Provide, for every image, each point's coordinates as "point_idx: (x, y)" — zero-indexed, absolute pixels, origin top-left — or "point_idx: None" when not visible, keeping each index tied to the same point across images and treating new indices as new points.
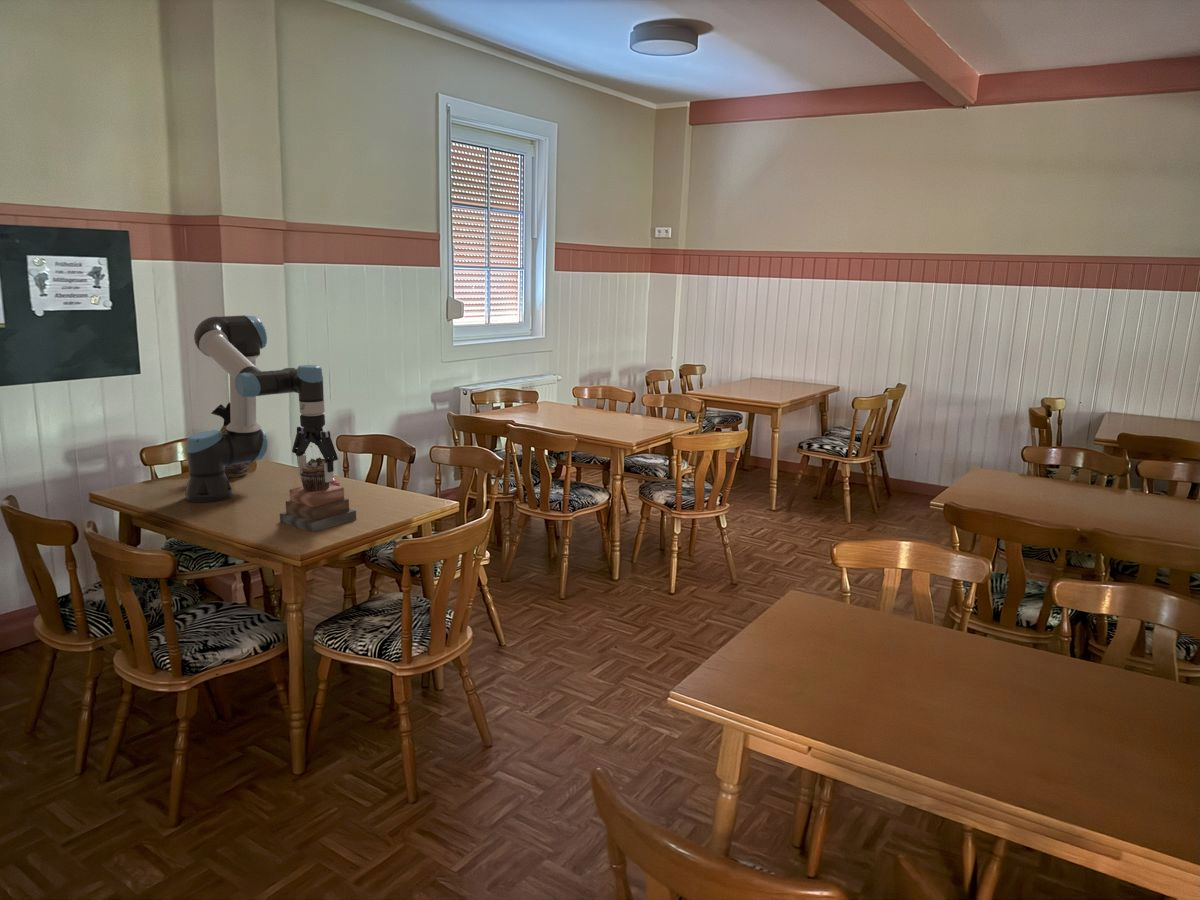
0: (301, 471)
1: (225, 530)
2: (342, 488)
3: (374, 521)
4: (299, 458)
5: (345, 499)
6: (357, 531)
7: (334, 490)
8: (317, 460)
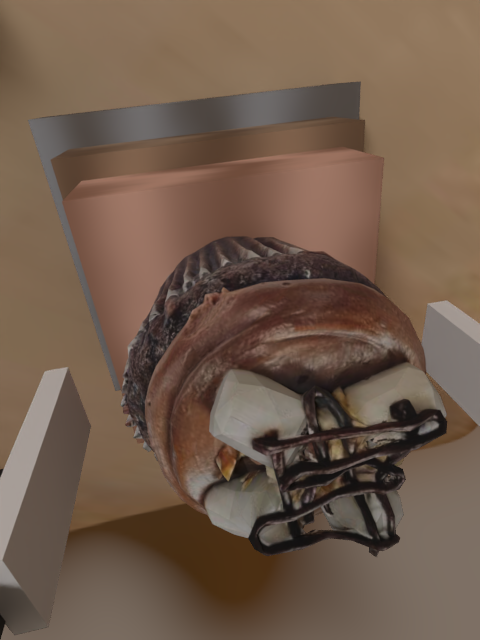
0: (78, 441)
1: (96, 510)
2: (379, 170)
3: (445, 29)
4: (54, 592)
5: (353, 143)
6: (475, 197)
7: (375, 247)
8: (316, 477)
